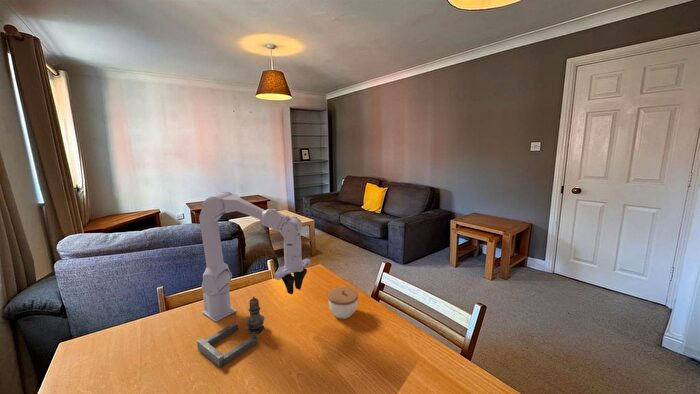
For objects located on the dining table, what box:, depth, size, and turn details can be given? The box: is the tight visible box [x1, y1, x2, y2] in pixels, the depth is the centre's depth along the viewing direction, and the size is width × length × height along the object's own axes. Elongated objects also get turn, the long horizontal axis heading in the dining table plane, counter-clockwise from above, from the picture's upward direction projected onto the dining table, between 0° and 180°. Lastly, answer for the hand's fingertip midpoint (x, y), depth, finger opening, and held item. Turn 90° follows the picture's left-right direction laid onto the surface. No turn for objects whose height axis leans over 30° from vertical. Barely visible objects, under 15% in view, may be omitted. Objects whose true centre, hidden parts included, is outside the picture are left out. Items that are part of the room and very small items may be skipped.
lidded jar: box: [327, 286, 359, 320], centre depth 102 cm, size 11×11×9 cm
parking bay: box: [196, 322, 259, 369], centre depth 86 cm, size 12×12×3 cm
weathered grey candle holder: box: [245, 295, 266, 336], centre depth 93 cm, size 6×6×12 cm
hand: (294, 290), depth 98 cm, fingers open, 3 cm apart
